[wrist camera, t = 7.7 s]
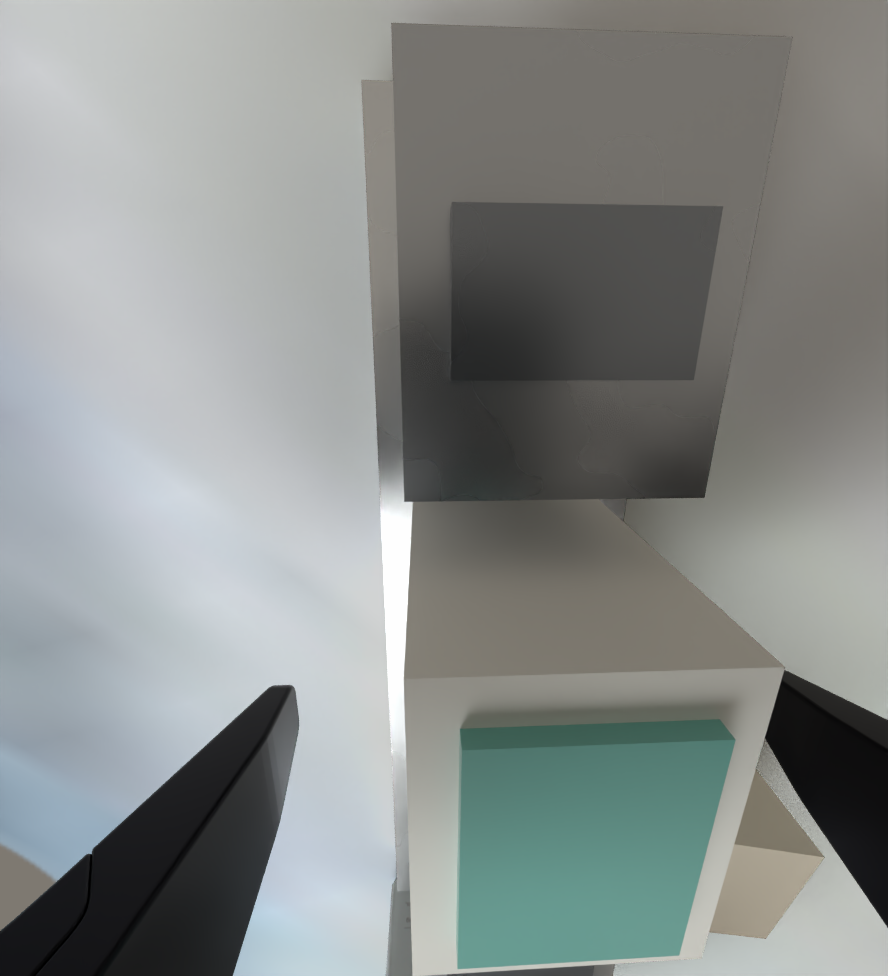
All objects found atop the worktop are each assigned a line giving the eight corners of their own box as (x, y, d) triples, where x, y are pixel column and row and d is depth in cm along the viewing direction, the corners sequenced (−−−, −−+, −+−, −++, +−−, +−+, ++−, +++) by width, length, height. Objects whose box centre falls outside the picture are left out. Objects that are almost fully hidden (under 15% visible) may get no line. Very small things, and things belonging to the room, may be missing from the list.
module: (597, 498, 11) (805, 686, 5) (576, 682, 13) (712, 984, 7) (412, 500, 11) (403, 699, 5) (416, 687, 13) (412, 1004, 7)
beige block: (738, 747, 16) (824, 857, 12) (697, 819, 17) (765, 938, 13) (606, 724, 15) (658, 833, 12) (571, 800, 16) (610, 920, 13)
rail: (651, 118, 10) (920, -141, 4) (563, 844, 17) (629, 1077, 11) (368, 111, 9) (303, -174, 4) (399, 852, 16) (388, 1095, 11)
